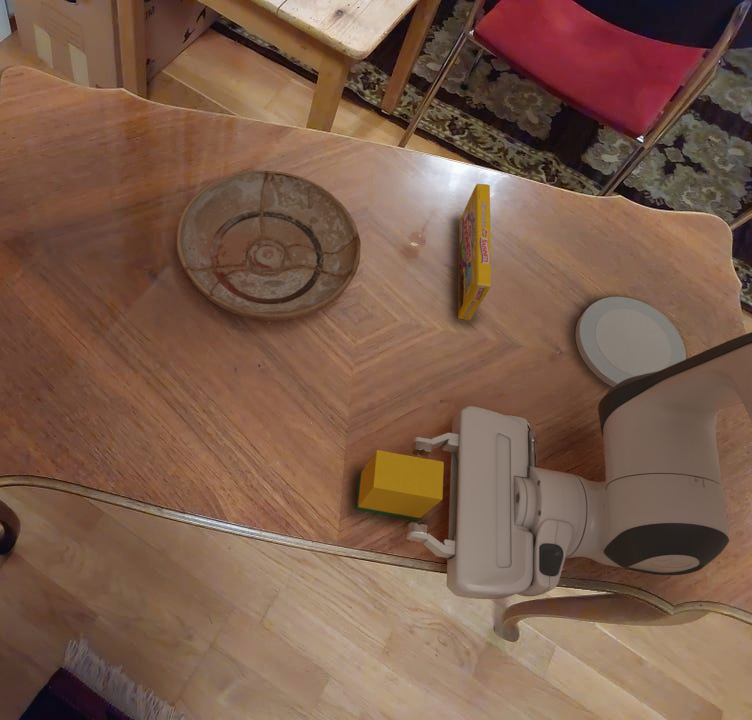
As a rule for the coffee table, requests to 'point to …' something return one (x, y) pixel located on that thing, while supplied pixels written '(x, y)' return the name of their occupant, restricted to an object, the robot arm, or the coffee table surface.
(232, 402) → the coffee table surface
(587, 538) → the robot arm
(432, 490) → the sponge
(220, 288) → the ceramic bowl
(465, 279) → the candy box
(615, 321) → the plate
